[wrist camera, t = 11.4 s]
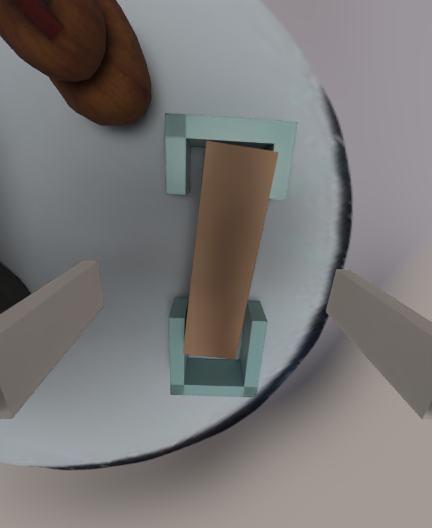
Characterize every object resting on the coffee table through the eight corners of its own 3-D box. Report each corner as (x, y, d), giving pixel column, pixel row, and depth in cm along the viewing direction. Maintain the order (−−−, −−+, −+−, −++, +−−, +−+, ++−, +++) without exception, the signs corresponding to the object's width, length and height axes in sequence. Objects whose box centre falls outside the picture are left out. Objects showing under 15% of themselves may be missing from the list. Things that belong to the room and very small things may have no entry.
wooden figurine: (169, 123, 20) (65, -11, 6) (107, 142, 21) (-123, 58, 6) (141, 26, 18) (-133, -554, 4) (72, 49, 18) (-400, -389, 4)
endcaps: (176, 367, 29) (170, 394, 26) (173, 125, 20) (164, 113, 16) (250, 369, 30) (256, 397, 26) (282, 132, 20) (297, 121, 17)
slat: (189, 317, 27) (182, 354, 22) (208, 151, 21) (206, 140, 15) (230, 322, 27) (235, 359, 22) (261, 159, 21) (278, 152, 16)
